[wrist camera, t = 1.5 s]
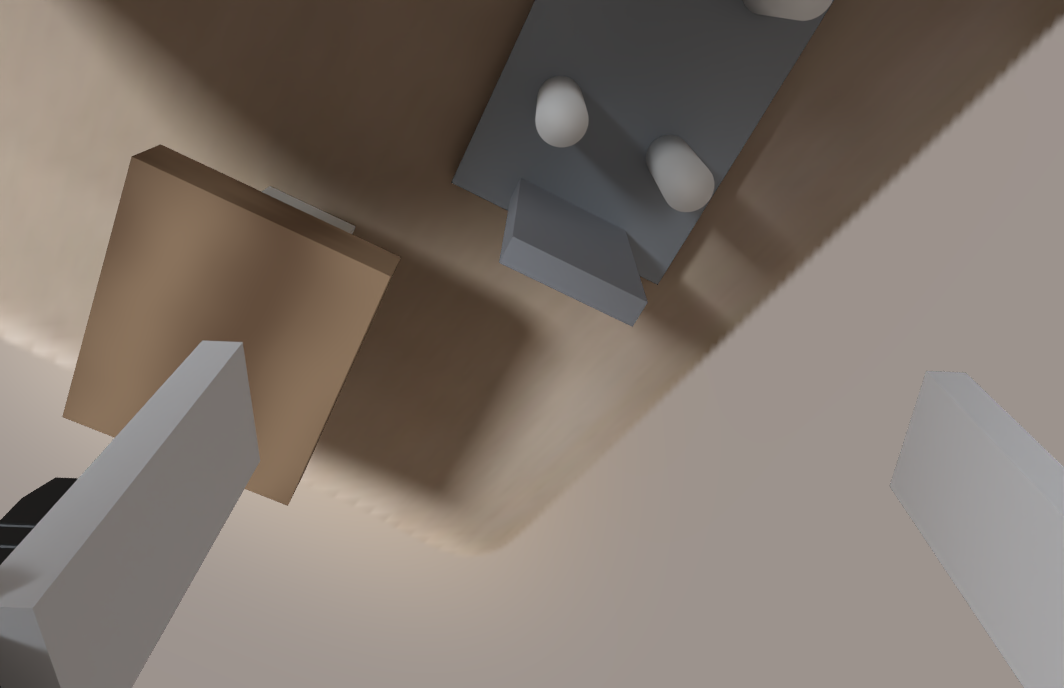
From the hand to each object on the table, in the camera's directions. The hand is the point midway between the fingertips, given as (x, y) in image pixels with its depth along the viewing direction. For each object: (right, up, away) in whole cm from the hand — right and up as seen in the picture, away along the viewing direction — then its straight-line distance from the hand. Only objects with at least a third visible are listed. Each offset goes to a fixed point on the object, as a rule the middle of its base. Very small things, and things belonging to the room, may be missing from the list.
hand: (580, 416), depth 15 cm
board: (-12, +2, +14) cm, 19 cm away
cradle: (+4, +13, +15) cm, 20 cm away
